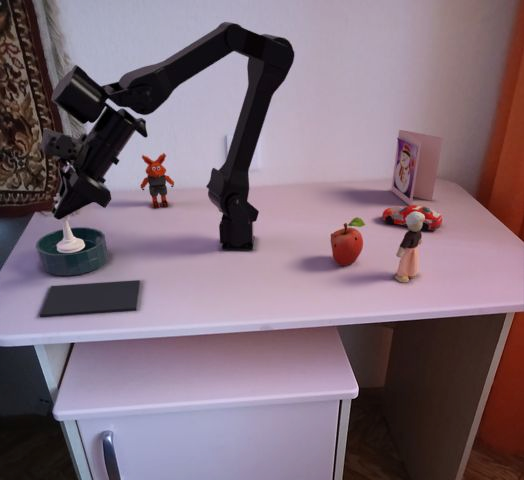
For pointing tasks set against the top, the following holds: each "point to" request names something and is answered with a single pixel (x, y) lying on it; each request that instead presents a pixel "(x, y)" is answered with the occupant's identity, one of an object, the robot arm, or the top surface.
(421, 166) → the greeting card
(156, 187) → the toy animal
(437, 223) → the race car
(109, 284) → the mat
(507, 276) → the top surface
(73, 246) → the chess piece
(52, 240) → the bowl
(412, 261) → the grandmother figurine
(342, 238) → the apple
